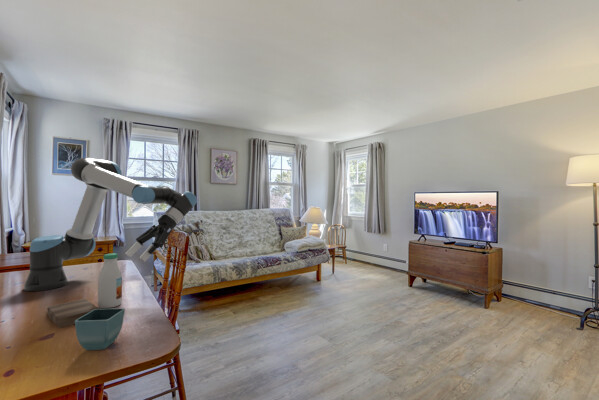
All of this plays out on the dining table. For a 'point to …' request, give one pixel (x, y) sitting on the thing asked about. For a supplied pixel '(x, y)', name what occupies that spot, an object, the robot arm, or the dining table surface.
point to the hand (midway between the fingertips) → (134, 257)
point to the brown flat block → (69, 312)
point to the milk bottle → (110, 283)
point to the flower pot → (99, 328)
